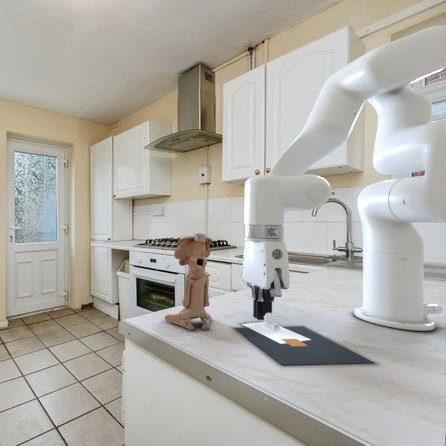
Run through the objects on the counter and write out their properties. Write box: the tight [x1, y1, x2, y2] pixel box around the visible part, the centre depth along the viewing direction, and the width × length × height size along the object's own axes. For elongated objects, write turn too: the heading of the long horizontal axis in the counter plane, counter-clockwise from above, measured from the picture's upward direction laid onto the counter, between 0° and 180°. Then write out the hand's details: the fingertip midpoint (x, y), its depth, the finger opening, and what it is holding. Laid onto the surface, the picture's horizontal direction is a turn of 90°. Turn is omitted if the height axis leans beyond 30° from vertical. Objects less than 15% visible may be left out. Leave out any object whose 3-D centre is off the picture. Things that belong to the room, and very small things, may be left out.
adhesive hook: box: [261, 312, 282, 331], centre depth 57 cm, size 3×3×3 cm
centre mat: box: [233, 325, 375, 366], centre depth 50 cm, size 15×15×1 cm
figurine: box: [164, 232, 213, 331], centre depth 60 cm, size 11×8×20 cm
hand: (262, 318), depth 59 cm, fingers closed
